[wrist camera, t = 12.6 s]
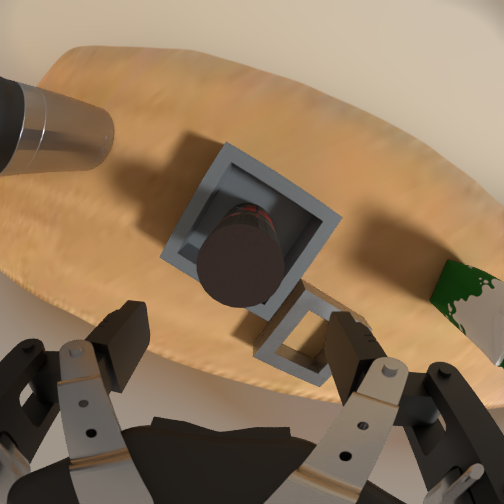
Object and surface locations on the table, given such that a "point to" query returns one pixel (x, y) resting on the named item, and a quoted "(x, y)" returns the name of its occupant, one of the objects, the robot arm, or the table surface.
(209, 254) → the deodorant
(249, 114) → the table surface
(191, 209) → the bin
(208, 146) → the table surface
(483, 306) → the milk carton
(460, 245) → the table surface
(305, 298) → the socket collar
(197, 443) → the robot arm
